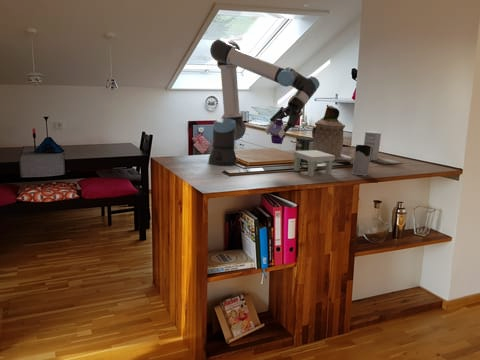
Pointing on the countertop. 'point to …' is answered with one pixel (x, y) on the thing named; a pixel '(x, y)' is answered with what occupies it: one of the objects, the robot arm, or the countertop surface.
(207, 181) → the countertop surface
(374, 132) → the supplement box
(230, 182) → the countertop surface
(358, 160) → the glass holder
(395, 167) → the countertop surface
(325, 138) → the cookie jar
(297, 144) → the coffee can
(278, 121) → the potion bottle
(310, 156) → the footstool
